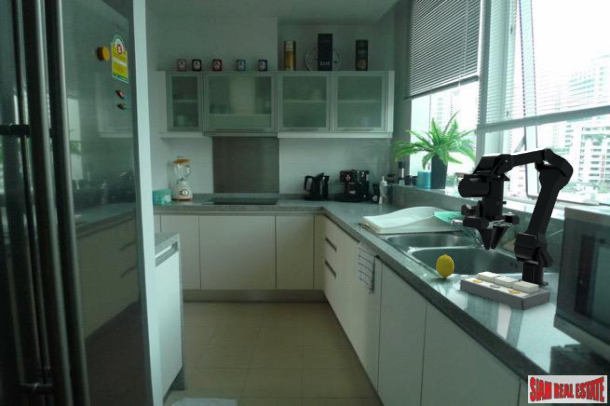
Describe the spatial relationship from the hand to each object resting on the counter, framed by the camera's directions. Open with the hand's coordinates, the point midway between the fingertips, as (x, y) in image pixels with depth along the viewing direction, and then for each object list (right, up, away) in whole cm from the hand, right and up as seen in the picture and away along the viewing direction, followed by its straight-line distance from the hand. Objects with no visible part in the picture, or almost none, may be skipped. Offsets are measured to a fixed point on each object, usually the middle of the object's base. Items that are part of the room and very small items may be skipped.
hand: (490, 249), depth 111 cm
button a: (0, -10, +1) cm, 10 cm away
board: (+1, -12, -4) cm, 13 cm away
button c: (+5, -11, -9) cm, 15 cm away
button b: (+3, -10, -4) cm, 11 cm away
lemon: (-9, -11, +12) cm, 19 cm away
